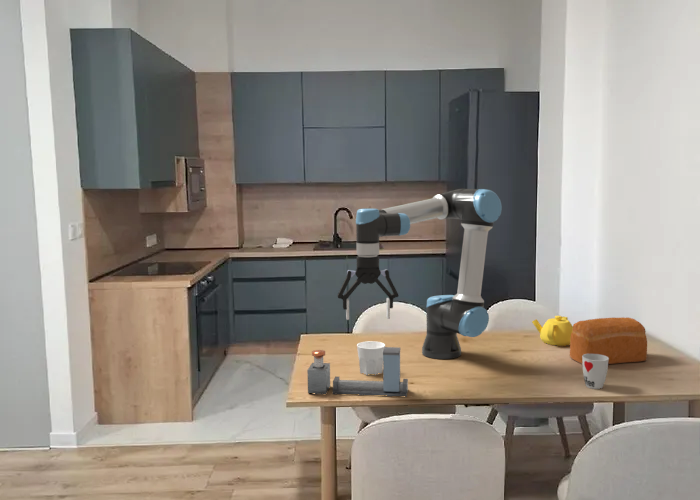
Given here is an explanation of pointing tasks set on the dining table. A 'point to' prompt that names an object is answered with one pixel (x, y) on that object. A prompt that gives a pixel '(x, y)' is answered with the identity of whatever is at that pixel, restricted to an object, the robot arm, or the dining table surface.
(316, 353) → the plunger
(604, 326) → the bread
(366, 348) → the cup
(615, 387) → the dining table surface
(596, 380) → the cup
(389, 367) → the grey rectangular block
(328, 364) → the gauge cabinet
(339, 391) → the rail
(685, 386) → the dining table surface
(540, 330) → the teapot
